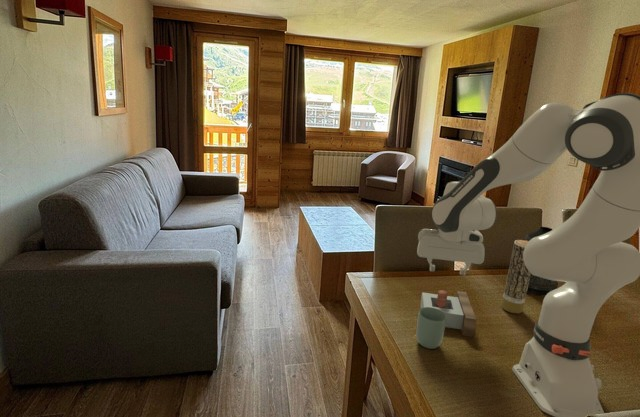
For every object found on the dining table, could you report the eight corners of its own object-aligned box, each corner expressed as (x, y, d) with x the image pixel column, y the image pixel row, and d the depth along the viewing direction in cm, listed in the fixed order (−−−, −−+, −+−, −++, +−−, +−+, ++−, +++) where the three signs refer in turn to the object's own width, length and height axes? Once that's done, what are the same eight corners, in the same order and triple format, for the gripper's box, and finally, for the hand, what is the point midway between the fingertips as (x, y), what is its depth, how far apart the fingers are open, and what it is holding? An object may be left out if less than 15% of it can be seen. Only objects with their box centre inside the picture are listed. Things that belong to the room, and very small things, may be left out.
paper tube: (524, 315, 130) (540, 248, 123) (503, 312, 131) (517, 245, 124) (519, 306, 136) (533, 241, 130) (499, 303, 137) (512, 238, 131)
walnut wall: (473, 336, 116) (476, 319, 114) (462, 335, 116) (465, 317, 115) (463, 307, 133) (466, 292, 131) (454, 306, 133) (457, 291, 132)
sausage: (444, 319, 124) (448, 295, 122) (434, 318, 125) (438, 293, 122) (443, 315, 127) (447, 291, 125) (434, 313, 127) (437, 289, 125)
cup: (437, 356, 105) (442, 324, 103) (411, 346, 109) (415, 315, 107) (444, 342, 112) (449, 312, 109) (419, 333, 116) (423, 304, 113)
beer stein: (531, 275, 163) (543, 220, 157) (573, 297, 145) (588, 236, 139) (501, 279, 158) (512, 222, 151) (540, 302, 140) (555, 238, 134)
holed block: (461, 329, 119) (463, 315, 118) (422, 323, 121) (424, 309, 120) (455, 310, 131) (457, 297, 129) (420, 305, 133) (422, 292, 131)
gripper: (419, 230, 117) (414, 271, 120) (489, 238, 113) (482, 280, 116) (418, 225, 123) (413, 264, 126) (484, 232, 119) (478, 273, 122)
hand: (447, 272), depth 121 cm, fingers open, 8 cm apart
